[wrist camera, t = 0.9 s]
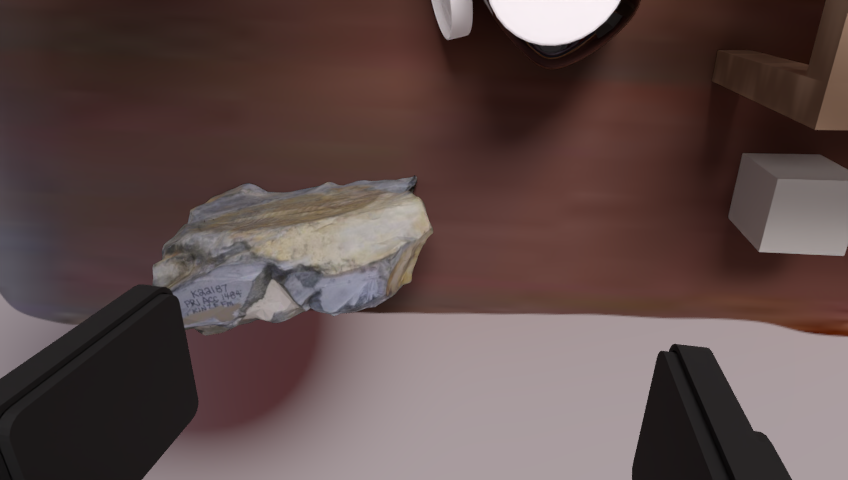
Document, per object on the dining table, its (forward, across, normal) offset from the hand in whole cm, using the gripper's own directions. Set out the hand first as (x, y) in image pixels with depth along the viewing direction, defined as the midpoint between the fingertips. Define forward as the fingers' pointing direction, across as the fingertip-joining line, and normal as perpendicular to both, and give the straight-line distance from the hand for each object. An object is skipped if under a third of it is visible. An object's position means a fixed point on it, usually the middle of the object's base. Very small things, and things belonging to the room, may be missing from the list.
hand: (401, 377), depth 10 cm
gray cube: (+33, -20, +5) cm, 39 cm away
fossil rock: (+33, +14, +11) cm, 37 cm away
